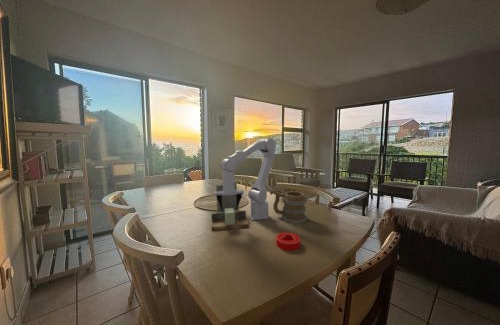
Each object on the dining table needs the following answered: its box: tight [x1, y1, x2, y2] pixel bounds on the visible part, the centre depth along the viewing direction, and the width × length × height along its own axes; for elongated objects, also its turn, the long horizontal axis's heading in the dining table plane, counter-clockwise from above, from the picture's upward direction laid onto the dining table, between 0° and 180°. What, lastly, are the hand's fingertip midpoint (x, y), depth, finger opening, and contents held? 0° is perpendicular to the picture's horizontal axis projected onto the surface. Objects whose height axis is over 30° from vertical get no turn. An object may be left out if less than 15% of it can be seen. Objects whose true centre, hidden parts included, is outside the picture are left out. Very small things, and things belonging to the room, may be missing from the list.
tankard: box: [269, 189, 308, 225], centre depth 111 cm, size 20×13×15 cm, turn 65°
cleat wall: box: [211, 210, 250, 231], centre depth 103 cm, size 18×10×5 cm, turn 100°
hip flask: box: [215, 180, 238, 213], centre depth 121 cm, size 16×4×20 cm, turn 143°
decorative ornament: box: [275, 231, 301, 251], centre depth 83 cm, size 10×10×3 cm
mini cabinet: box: [225, 208, 235, 225], centre depth 102 cm, size 4×8×6 cm, turn 11°
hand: (229, 209), depth 102 cm, fingers open, 7 cm apart
